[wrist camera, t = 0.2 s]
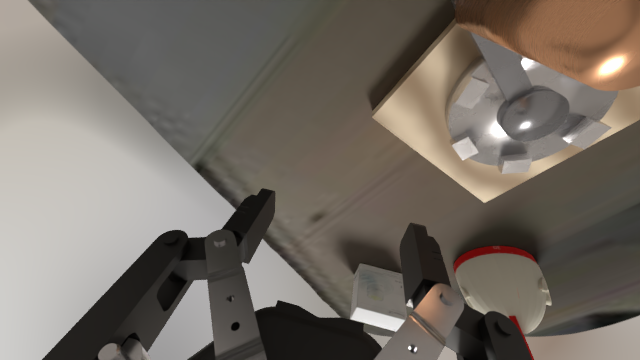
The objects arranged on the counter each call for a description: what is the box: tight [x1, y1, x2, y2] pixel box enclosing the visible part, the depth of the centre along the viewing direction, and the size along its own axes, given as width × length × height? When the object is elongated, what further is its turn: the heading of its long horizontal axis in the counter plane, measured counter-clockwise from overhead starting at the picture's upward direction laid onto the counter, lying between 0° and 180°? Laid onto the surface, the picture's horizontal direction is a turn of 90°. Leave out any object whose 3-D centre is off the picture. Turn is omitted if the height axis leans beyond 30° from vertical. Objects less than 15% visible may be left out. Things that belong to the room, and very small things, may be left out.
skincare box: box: [350, 263, 407, 331], centre depth 52 cm, size 10×6×10 cm, turn 83°
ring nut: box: [445, 0, 640, 174], centre depth 17 cm, size 20×14×20 cm
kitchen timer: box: [453, 246, 551, 360], centre depth 41 cm, size 14×14×15 cm
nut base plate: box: [372, 19, 640, 203], centre depth 27 cm, size 22×22×2 cm
